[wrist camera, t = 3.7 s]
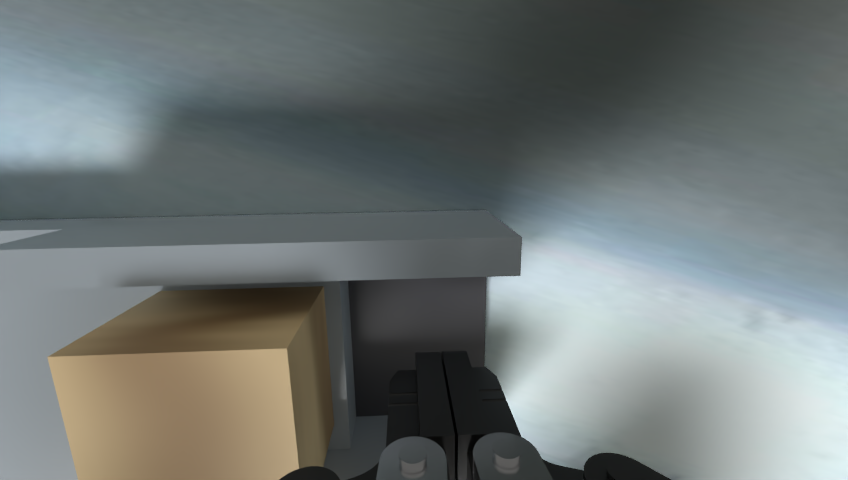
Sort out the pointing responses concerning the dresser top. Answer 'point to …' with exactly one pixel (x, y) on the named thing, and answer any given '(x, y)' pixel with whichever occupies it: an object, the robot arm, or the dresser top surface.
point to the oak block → (200, 387)
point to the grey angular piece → (236, 269)
